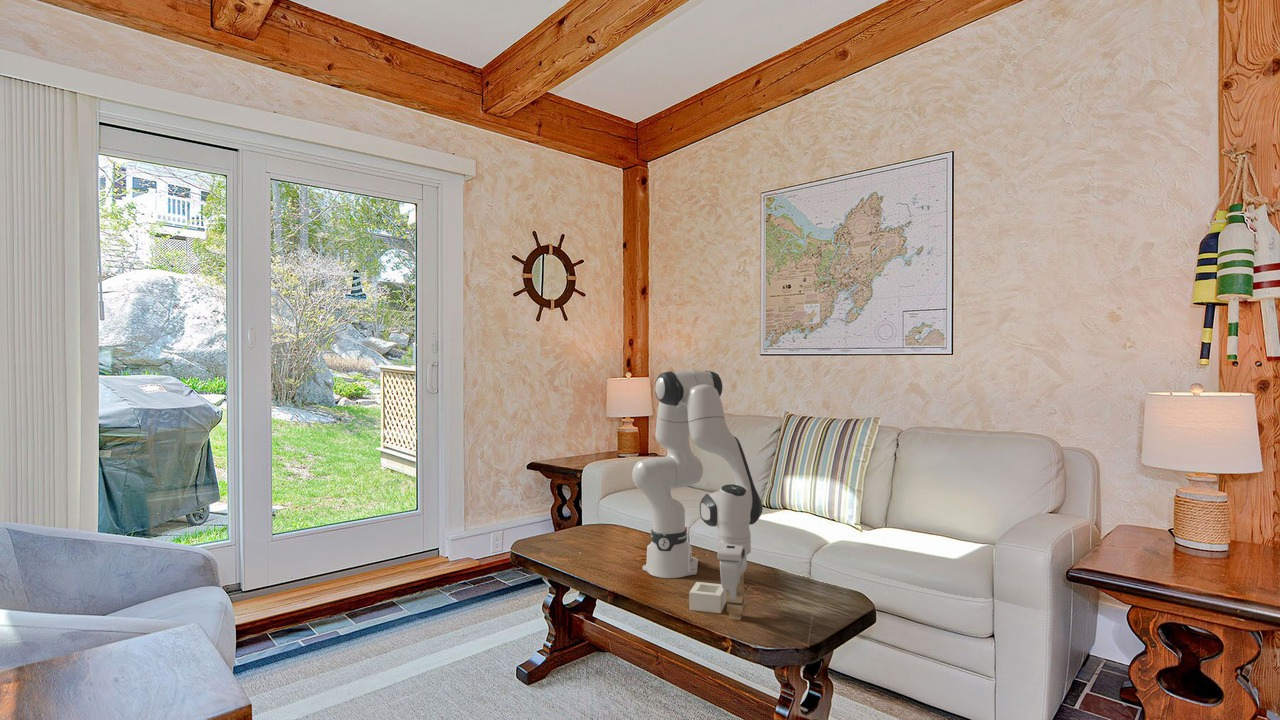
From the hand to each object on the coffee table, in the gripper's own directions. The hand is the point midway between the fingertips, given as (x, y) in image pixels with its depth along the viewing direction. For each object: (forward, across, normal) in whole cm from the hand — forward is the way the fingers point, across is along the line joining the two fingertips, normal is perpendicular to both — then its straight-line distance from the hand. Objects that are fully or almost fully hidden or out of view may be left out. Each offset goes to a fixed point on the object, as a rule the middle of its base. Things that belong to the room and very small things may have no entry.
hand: (735, 595), depth 176 cm
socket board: (+6, -6, -9) cm, 12 cm away
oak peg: (+6, 0, 0) cm, 6 cm away
